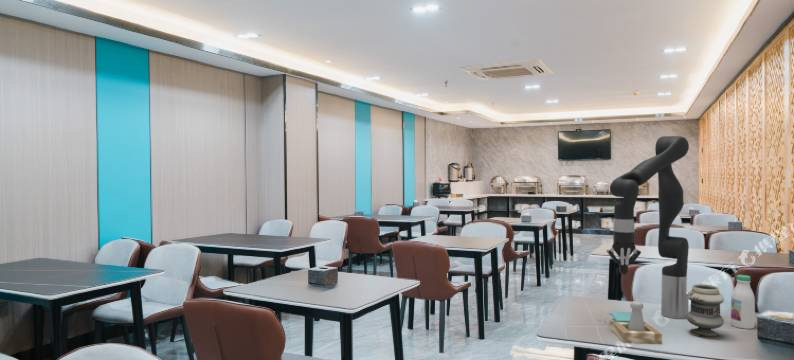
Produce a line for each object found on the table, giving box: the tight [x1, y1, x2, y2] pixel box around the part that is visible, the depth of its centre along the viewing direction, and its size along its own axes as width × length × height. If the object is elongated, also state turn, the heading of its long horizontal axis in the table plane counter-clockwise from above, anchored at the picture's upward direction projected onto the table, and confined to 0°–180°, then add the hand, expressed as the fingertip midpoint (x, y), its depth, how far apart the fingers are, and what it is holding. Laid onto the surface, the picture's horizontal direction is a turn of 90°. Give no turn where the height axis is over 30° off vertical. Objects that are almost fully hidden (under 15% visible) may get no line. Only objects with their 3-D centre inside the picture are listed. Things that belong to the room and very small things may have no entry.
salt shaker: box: [628, 300, 645, 331], centre depth 191 cm, size 6×6×13 cm
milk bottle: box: [730, 274, 756, 330], centre depth 204 cm, size 8×8×20 cm
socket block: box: [609, 318, 663, 345], centre depth 195 cm, size 13×22×4 cm, turn 175°
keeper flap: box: [609, 311, 632, 322], centre depth 203 cm, size 8×9×1 cm
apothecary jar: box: [686, 283, 725, 339], centre depth 194 cm, size 12×12×18 cm
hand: (623, 274), depth 204 cm, fingers closed
